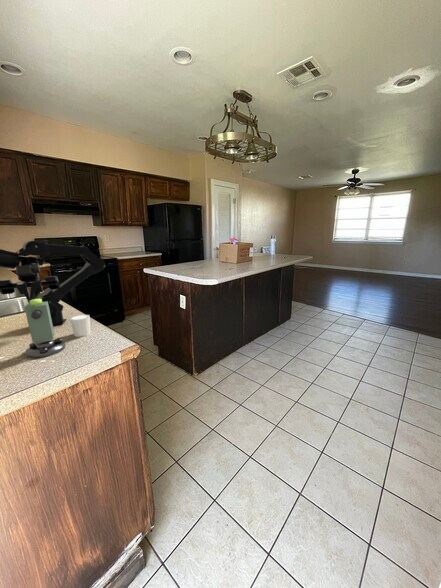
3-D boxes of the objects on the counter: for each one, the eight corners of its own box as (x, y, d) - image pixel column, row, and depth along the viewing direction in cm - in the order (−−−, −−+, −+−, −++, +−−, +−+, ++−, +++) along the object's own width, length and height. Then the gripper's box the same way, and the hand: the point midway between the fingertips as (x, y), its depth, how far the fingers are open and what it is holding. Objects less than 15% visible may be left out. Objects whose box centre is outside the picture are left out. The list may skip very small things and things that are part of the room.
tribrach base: (29, 347, 86) (28, 339, 86) (66, 340, 91) (65, 333, 90) (22, 361, 77) (20, 352, 76) (64, 353, 82) (62, 344, 81)
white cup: (68, 335, 96) (65, 318, 94) (85, 329, 102) (82, 313, 100) (79, 338, 93) (76, 321, 91) (96, 332, 99) (93, 315, 97)
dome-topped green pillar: (35, 341, 84) (26, 299, 79) (55, 337, 86) (46, 297, 82) (32, 349, 79) (22, 305, 74) (53, 345, 81) (44, 302, 77)
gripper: (-9, 258, 88) (-12, 295, 81) (53, 255, 96) (55, 288, 89) (2, 277, 96) (1, 311, 90) (59, 272, 105) (61, 304, 98)
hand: (30, 303), depth 91 cm, fingers closed
